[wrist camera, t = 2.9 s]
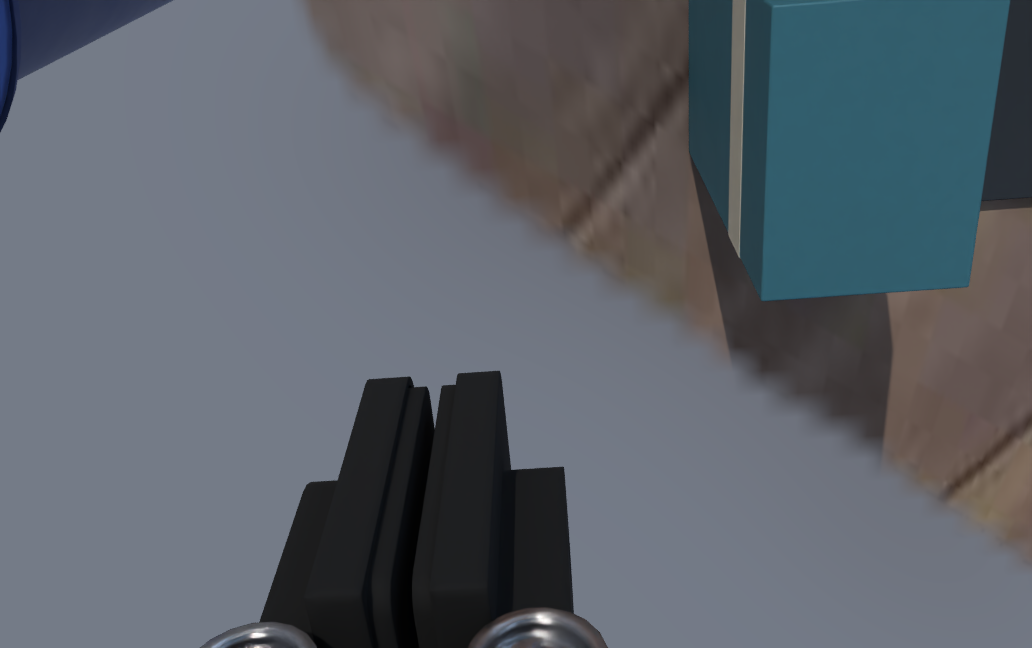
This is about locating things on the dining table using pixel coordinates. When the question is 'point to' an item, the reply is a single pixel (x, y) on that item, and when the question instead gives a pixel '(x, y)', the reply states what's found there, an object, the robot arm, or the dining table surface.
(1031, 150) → the mat
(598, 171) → the dining table surface
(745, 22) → the carton
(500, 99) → the dining table surface
